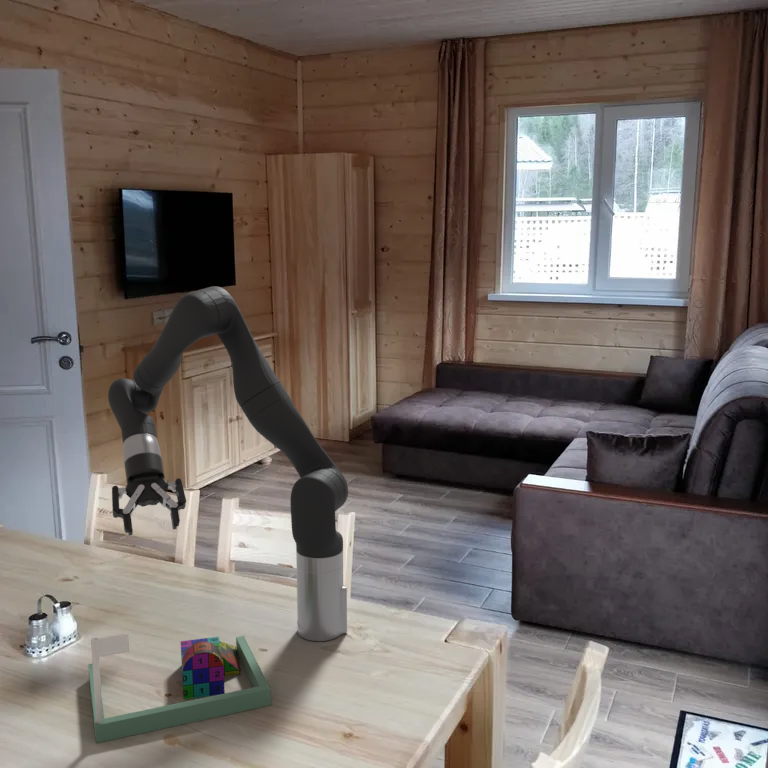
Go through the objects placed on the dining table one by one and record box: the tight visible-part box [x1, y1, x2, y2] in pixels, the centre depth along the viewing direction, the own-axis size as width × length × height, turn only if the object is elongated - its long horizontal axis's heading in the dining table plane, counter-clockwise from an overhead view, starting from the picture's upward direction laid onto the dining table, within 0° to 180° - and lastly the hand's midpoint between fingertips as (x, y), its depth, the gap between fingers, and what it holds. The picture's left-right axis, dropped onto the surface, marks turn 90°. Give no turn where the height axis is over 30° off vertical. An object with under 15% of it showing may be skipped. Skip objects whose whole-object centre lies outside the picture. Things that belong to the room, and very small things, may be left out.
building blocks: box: [180, 636, 241, 700], centre depth 148 cm, size 15×10×8 cm
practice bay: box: [88, 632, 272, 744], centre depth 141 cm, size 28×20×17 cm
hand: (153, 530), depth 162 cm, fingers open, 8 cm apart
